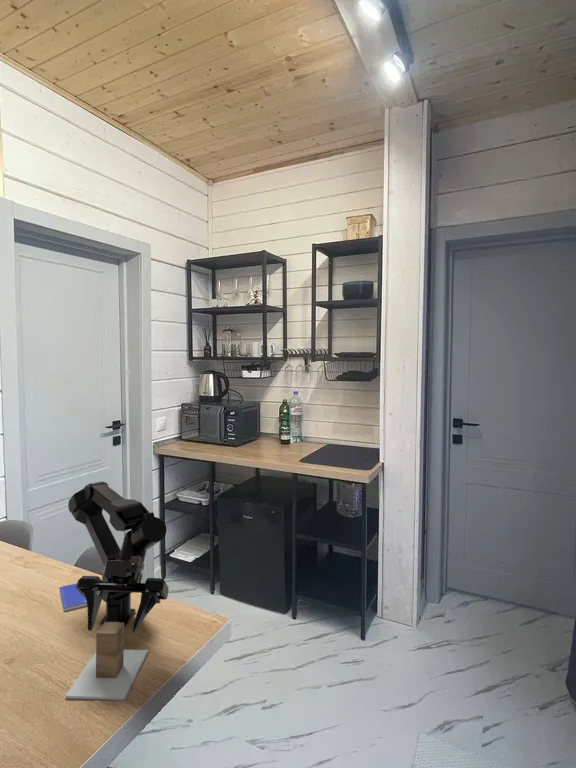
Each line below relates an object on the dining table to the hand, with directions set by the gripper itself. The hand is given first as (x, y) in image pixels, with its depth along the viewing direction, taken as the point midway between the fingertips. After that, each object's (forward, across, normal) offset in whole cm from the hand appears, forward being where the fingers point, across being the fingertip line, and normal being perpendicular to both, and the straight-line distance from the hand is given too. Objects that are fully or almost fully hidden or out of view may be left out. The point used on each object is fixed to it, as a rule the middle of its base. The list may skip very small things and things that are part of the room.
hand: (111, 631), depth 90 cm
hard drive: (-14, -21, +26) cm, 36 cm away
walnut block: (+6, 0, +4) cm, 8 cm away
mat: (+6, 0, +5) cm, 8 cm away
